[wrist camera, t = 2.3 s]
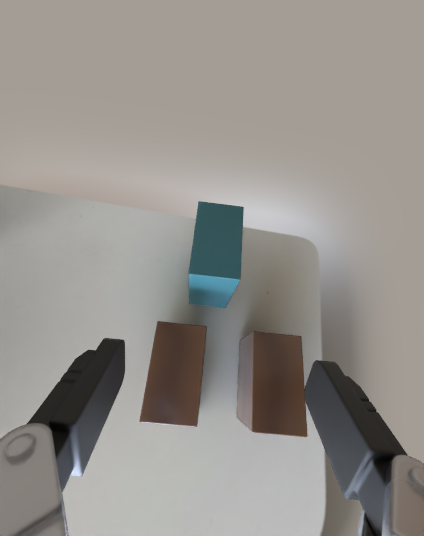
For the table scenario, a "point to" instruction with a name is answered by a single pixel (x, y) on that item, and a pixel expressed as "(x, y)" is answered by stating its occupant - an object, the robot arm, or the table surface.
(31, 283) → the table surface
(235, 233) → the teal block
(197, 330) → the walnut block
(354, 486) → the robot arm
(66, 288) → the table surface
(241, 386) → the walnut block
